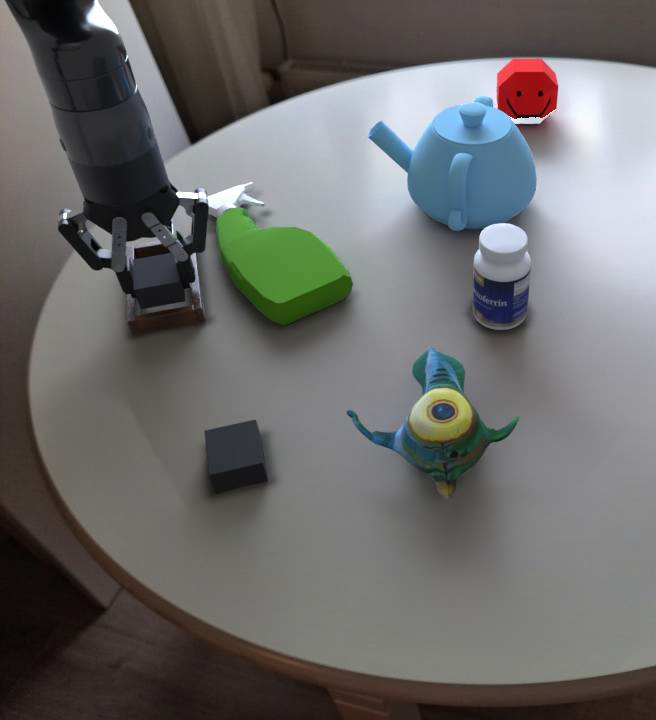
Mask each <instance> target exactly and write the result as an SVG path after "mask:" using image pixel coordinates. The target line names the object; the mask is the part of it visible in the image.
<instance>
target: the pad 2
mask: <svg viewBox="0 0 656 720" xmlns="http://www.w3.org/2000/svg"><path fill="white" fill-rule="evenodd" d="M260 431H261V430H260V428H259V425H258V421H257V419H251V420H247V421H246V420H245V421H241V422H237V423H233V424H232V423H231V424H229V425H224V426H219V427H214V428H210V429H206V430H204V440H205V450H206V460H207V469H208V478H209V479H210V483H211V484H212V487H213V490H214V492H215V494H219V493H223V492H228V491H232V490H236V489H240V488H245V487H249V486H254V485H257V484H262V483H266V482H268V481H269V476H268V471H267V465H266V458H265V452H264V446H263V445H264V444H263V440H262V436H261V432H260Z"/></svg>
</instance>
